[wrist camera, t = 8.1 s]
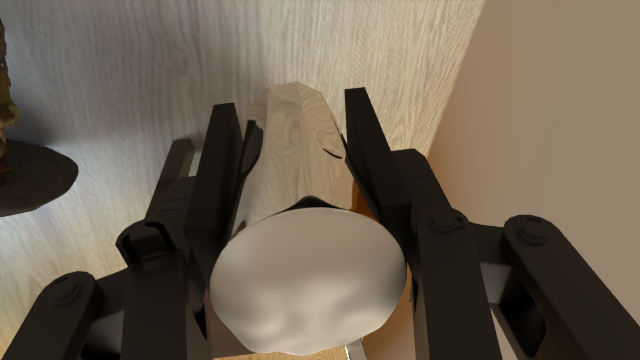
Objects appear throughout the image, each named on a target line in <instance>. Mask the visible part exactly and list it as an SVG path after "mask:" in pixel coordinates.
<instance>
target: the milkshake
mask: <svg viewBox="0 0 640 360" xmlns="http://www.w3.org/2000/svg"><path fill="white" fill-rule="evenodd" d="M406 278H407V268H406V263H405V259H404V256H403V253H402V250H401V248H400V246H399V244H398V242H397V240H396V238H395V236H394V234H393V232H392V231H391V229H390V227H389V225H388V223H387V221H386V219H385V217H384V215H383V213H382V212H381V210H380V208H379V206H378V204H377V202H376V200H375V198H374V196H373V194H372V192H371V190H370V189H369V187H368V185H367V183H366V182H365V180H364V178H363V177H362V175H361V174H360V172H359V169H358V167H357V165H356V163H355V161H354V159H353V156H352V154H351V152H350V150H349V148H348V145H347V143H346V141H345V139H344V137H343V134H342V132H341V130H340V128H339V126H338V124H337V121H336V119H335V117H334V115H333V113H332V111H331V109H330V108H329V106H328V104H327V102H326V100H325V98H324V96H323V94H322V93H321V92H320V91H318V90H316V89H314V88H311V87H309V86H307V85H304V84H302V83H300V82H298V81H294V82H288V83H283V84H277V85H272V86H269V87H268V88H267V89H266V90H265V91H264V92H263V93H262V94H261V95H260V96H259V97H258V98H257V99H256V100H255V101H254V102H253V103H252V104H251V107H250V112H249V117H248V122H247V127H246V132H245V137H244V142H243V147H242V152H241V157H240V162H239V167H238V172H237V177H236V181H235V185H234V189H233V193H232V197H231V201H230V205H229V209H228V213H227V217H226V221H225V225H224V229H223V233H222V237H221V241H220V245H219V249H218V253H217V257H216V261H215V265H214V269H213V272H212V275H211V280H210V300H211V303H212V306H213V309H214V311H215V312H216V314H217V315H218V317H219V318H220V319H221V320H222V322H223V323H224V324H225V325H226V326H227V327H228V328H229V329H230V331H231V332H232V333H233V334H234V335H235V336H236V337H237V339H238V340H239V341H240V342H241V343H242V344H243V345H244V346H245V347H246V348H247V349H248V350H250V351H253V352H255V353H261V354H264V353H271V352H282V353H287V354H291V355H298V356H305V355H310V354H314V353H317V352H319V351H323V350H326V349H330V348H335V347H340V346H344V345H345V348H346V351H347V355H348V358H349V360H368V359H367V356H366V353H365V350H364V347H363V344H362V341H361V337H363V336H365V335H367V334H369V333H371V332H373V331H375V330H377V329H378V328H380V327H381V326H382V325H383V324H384V323H385V321H386V320H387V319H388V318H389V316H390V315H391V313H392V312H393V310H394V309H395V307H396V305H397V303H398V301H399V299H400V297H401V295H402V292H403V290H404V287H405V283H406Z"/></svg>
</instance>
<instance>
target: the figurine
mask: <svg viewBox="0 0 640 360" xmlns="http://www.w3.org/2000/svg"><path fill="white" fill-rule="evenodd" d="M4 33H5V29H4V26H3V24H2V21H1V19H0V134H1V138H0V217H5V216H10V215H15V214H20V213H25V212H29V211H33V210H36V209H37V208H39V207H40V206H42V205H44V204H47V203H49V202H51V201H53V200H55V199H56V198H58V197H60V196H62V195H63V194H65V193H66V192H67V191H68V190H69V189H70V188H71V186H72V185H73V183H74V182H75V180H76V178H77V176H78V165H77V164H76V163H75V162H74V161H73V160H72V159H70V158H69V157H67V156H65V155H63V154H61V153H58V152H56V151H54V150H52V149H50V148H47V147H44V146H40V145H35V144H29V143H23V142H19V141H15V140H10V139H6V136H5V133H4V131H3V129H5V128H9V127H12V126H13V125H14V124H15V126H16V125H17V124H18V120H19V116H20V115H19V111H18V108H17V107H16V105H15V104H14V103H13V102H12V100H11V98H10V92H9V88H8V86H9V87H11V82H10V79H9V77H8V74H7V73H8V68H7V64H6V60H5V55H6V43H5V39H4ZM1 63H3V66H4V68H3V67H2V65H1Z"/></svg>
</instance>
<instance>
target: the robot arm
mask: <svg viewBox="0 0 640 360" xmlns="http://www.w3.org/2000/svg"><path fill="white" fill-rule="evenodd" d="M345 109H346V130H347V145H348V148H349V150H350V152H351V154H352V156H353V159H354V161H355V163H356V165H357V167H358V169H359V172H360V174H361V175H362V177H363V178H364V180H365V182H366V183H367V185H368V187H369V189H370V190H371V192H372V194H373V196H374V198H375V200H376V202H377V204H378V206H379V208H380V210H381V212H382V213H383V215H384V217H385V219H386V221H387V223H388V225H389V227H390V229H391V231H392V232H393V234H394V236H395V238H396V240H397V242H398V244H399V246H400V248H401V250H402V253H403V256H404V259H405V263H406V268H407V262H408V265H409V268H410V271H411V273H412V279H411V289H410V300H409V302H412V309H413V324H414V339H415V353H416V360H502V355H501V352H500V347H499V343H498V339H497V335H496V331H495V326H494V322H493V318H492V314H491V310H492V311H493V313H494V315H495V317H496V319H497V321H498V323H499V325H500V326H501V328H502V330H503V332H504V334H505V336H506V338H507V340H508V342H509V344H510V345H511V347H512V349H513V351H514V353H515V355H516V357H517V359H518V360H640V326H639V325H638V324H637V323H636V321H635V320H634V319H633V318H632V317H631V315H630V314H629V313H628V312H627V311H626V309H625V308H624V307H623V306H622V305H621V303H620V302H619V301H618V300H617V299H616V297H615V296H614V295H613V294H612V293H611V291H610V290H609V289H608V288H607V287H606V285H605V284H604V283H603V282H602V281H601V279H600V278H599V277H598V276H597V275H596V273H595V272H594V271H593V270H592V269H591V267H590V266H589V265H588V264H587V262H586V261H585V260H584V259H583V258H582V256H581V255H580V254H579V253H578V252H577V250H576V249H575V248H574V247H573V246H572V245H571V243H570V242H569V241H568V240H567V239H566V237H565V236H564V235H563V234H562V232H561V231H560V230H559V229H558V228H557V227H556V226H554V225H553V224H552V223H551V222H549V221H547V220H545V219H543V218H541V217H537V216H533V215H517V216H514V217H511V218H509V219H508V220H507V221H506V222H505V225H504V227H495V226H487V225H480V224H475V223H472V222H469V221H468V219H467V217H466V216H465V215H463V214H462V213H461V212H460V211H458V210H456V209H453V208H451V206H450V204H449V202H448V200H447V198H446V196H445V194H444V192H443V190H442V188H441V187H440V184H439V183H438V181H437V179H436V178H435V175H434V173H433V171H432V169H430V165H429V163H428V162H427V160H426V158H425V156H423V155H422V154H421V153H419V152H418V151H417V150H415V149H414V148H413V149H405V150H397V151H391V150H390V148H389V145H388V143H387V140H386V138H385V135H384V133H383V131H382V128H381V126H380V123H379V121H378V118H377V116H376V114H375V111H374V109H373V106H372V104H371V101H370V99H369V97H368V94H367V92H366V89H365V87H362V88H353V89H345ZM242 147H243V138H242V134H241V129H240V125H239V121H238V117H237V113H236V108H235V104H234V103H225V104H217V105H214V106H213V110H212V114H211V118H210V122H209V126H208V130H207V134H206V138H205V142H204V146H203V150H202V154H201V158H200V162H199V166H198V170H197V174H196V176H190V177H182V178H176V179H175V180H174V181H173V182H172V183H171V184H170V185H169V186H168V188H167V189H166V191H165V194H164V197H163V200H162V201H163V203H161V206H160V209H159V212H158V215H157V218H148V219H143V220H141V221H138V222H135V223H133V224H132V225H130V226H129V227H127V228H126V229H125V230H124V231H123V232H122V233H121V234H120V235H119V236H118V238H117V241H116V243H115V245H116V247H117V248H118V250H119V252H120V253H121V255H122V257H123V259H124V260H125V262H126V264H127V265H128V267H127V268H125V269H123V270H121V271H119V272H116V273H114V274H111V275H108V276H106V277H103V278H100V279H98V280H95V278H94V277H93V275H91V274H89V273H88V272H82V271H76V272H72V273H68V274H65V275H63V276H61V277H59V278H57V279H55V280H54V281H52V282H51V283H50V284H49V285H47V286H46V287H45V288H44V289H43V291H42V292H41V293H40V294H39V296H38V297H37V299H36V301H35V302H34V304H33V306H32V308H31V309H30V311H29V313H28V314H27V316H26V318H25V320H24V321H23V323H22V325H21V327H20V328H19V330H18V332H17V333H16V335H15V337H14V339H13V340H12V342H11V344H10V346H9V347H8V349H7V351H6V352H5V354H4V356H3V358H2V359H1V360H213V355H212V345H211V335H210V325H209V316H208V310H207V307H206V305H205V302H204V296H205V290H206V288H207V290H208V293H209V295H210V280H211V275H212V272H213V269H214V265H215V261H216V257H217V253H218V249H219V245H220V241H221V237H222V233H223V229H224V225H225V221H226V217H227V213H228V209H229V205H230V201H231V197H232V193H233V189H234V185H235V181H236V177H237V172H238V167H239V162H240V157H241V152H242ZM490 308H491V310H490Z"/></svg>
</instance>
